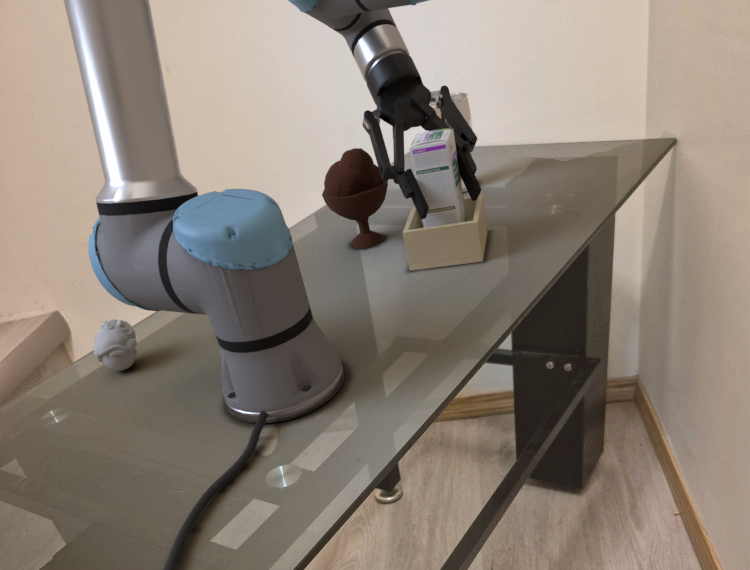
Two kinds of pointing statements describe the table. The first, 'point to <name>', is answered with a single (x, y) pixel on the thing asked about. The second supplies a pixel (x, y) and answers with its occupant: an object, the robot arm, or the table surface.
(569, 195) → the table surface
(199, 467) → the table surface
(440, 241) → the basket
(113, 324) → the frog figurine
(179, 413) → the table surface
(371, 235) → the ice cream bowl
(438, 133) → the syrup box
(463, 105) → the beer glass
